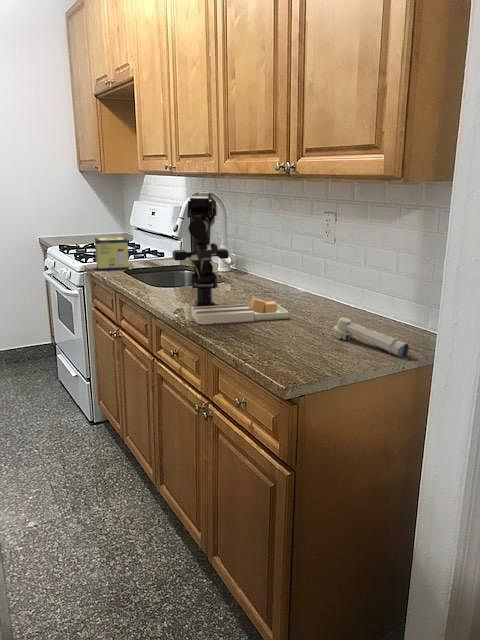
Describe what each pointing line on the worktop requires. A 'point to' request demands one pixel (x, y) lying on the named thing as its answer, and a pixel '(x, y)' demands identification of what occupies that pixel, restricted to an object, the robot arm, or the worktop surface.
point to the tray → (272, 315)
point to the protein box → (112, 254)
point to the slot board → (222, 314)
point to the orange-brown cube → (257, 305)
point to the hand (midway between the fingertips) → (200, 279)
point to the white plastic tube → (370, 337)
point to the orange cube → (270, 307)
